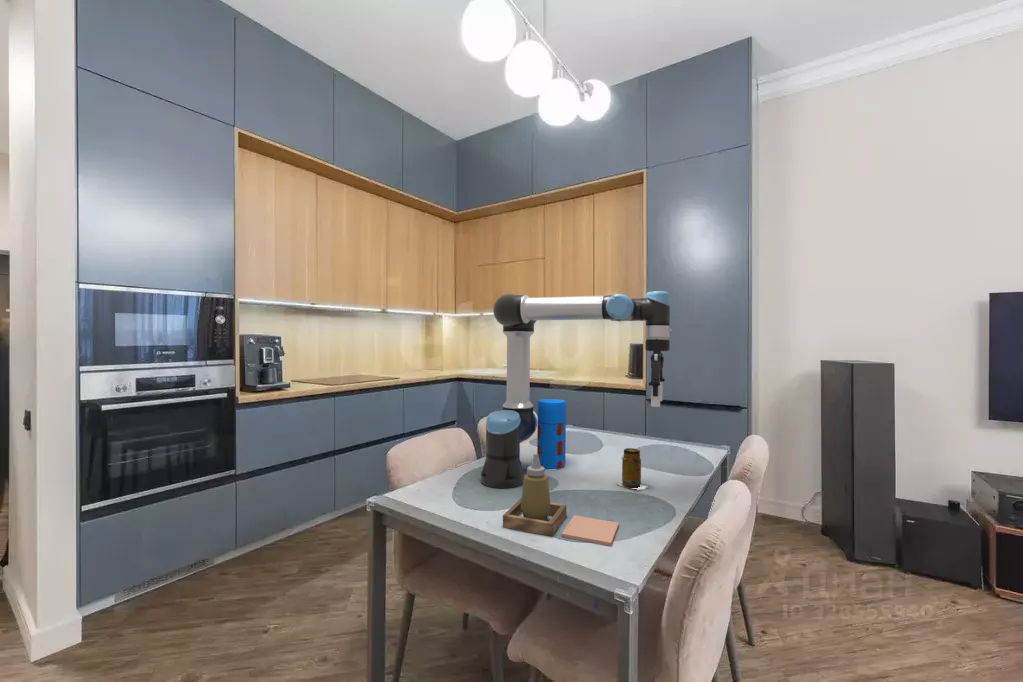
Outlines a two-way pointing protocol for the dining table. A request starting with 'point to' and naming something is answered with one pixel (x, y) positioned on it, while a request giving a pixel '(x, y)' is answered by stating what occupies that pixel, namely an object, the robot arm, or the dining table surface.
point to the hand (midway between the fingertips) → (656, 403)
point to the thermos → (551, 433)
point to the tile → (591, 530)
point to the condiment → (631, 469)
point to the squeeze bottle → (535, 492)
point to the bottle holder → (534, 520)
